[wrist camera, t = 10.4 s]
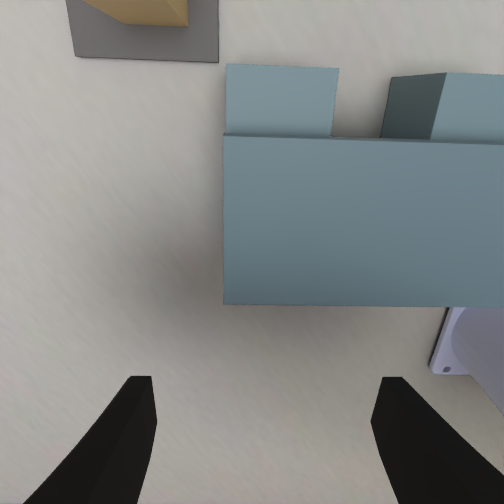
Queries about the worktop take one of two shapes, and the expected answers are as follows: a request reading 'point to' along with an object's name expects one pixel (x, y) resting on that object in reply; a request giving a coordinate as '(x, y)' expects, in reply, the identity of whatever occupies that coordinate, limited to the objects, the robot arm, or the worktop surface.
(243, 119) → the teal block stack
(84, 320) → the worktop surface
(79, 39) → the pad
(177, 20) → the tan grooved block
